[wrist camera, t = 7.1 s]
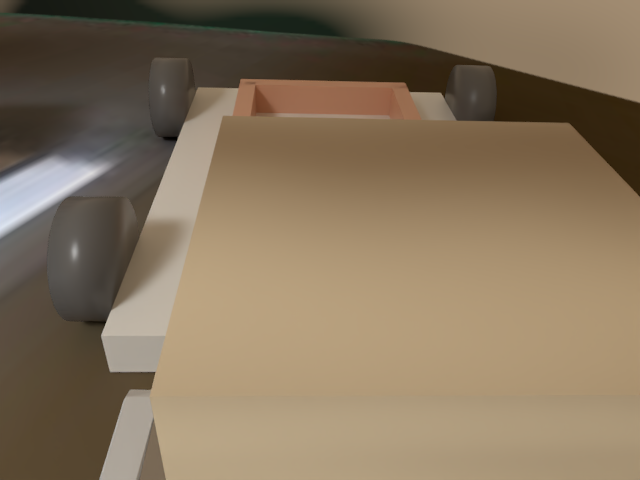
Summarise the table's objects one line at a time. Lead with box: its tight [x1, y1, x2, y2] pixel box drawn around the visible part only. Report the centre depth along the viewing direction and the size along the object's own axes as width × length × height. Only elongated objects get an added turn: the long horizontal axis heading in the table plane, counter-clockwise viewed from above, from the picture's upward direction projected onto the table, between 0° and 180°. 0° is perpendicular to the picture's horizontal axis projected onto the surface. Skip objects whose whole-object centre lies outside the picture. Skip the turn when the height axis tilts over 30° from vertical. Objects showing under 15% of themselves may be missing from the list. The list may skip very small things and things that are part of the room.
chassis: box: [47, 58, 497, 372], centre depth 25 cm, size 20×17×4 cm
